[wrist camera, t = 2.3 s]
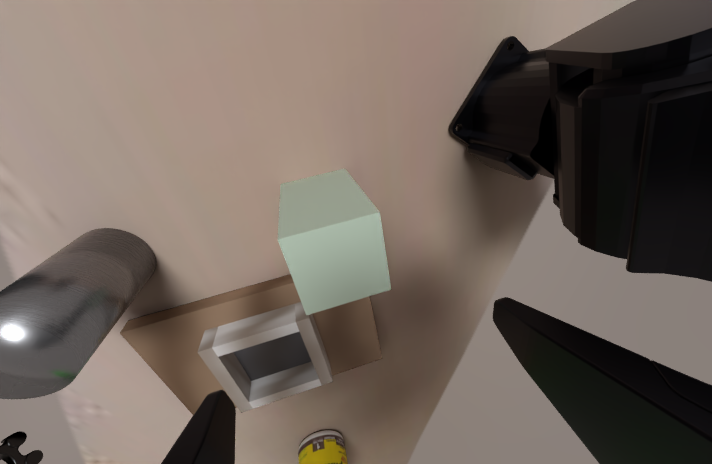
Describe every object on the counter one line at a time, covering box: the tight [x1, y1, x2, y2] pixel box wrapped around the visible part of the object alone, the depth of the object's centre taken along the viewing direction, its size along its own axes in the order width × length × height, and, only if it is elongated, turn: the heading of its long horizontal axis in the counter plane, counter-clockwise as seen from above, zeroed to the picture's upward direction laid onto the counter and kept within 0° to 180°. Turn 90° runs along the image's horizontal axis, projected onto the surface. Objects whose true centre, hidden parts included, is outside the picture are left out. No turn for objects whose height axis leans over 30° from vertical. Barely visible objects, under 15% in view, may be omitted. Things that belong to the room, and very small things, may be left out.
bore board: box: [120, 274, 382, 415], centre depth 23 cm, size 18×12×3 cm, turn 100°
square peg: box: [278, 169, 391, 315], centre depth 16 cm, size 4×4×8 cm
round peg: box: [0, 228, 156, 399], centre depth 14 cm, size 4×4×8 cm
